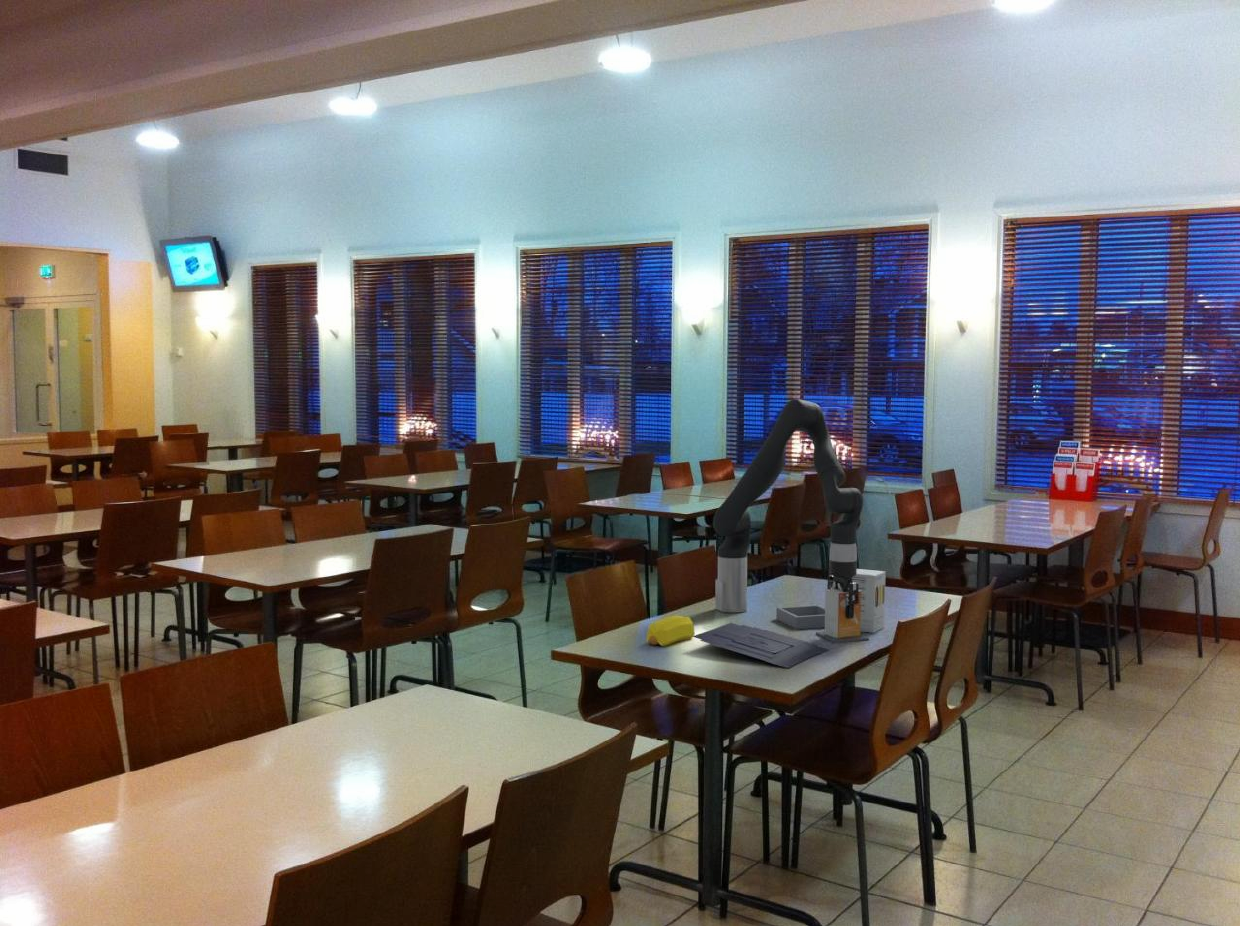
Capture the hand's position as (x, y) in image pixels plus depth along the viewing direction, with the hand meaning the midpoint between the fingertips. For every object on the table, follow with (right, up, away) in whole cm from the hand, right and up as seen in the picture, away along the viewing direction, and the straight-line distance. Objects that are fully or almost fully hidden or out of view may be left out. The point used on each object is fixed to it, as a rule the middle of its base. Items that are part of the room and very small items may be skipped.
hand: (842, 615), depth 310 cm
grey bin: (-7, -5, +19) cm, 21 cm away
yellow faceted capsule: (-49, -7, -3) cm, 49 cm away
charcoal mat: (0, -6, 0) cm, 6 cm away
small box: (0, -6, 0) cm, 6 cm away
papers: (-26, -8, -15) cm, 31 cm away
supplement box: (+9, -6, +11) cm, 15 cm away
